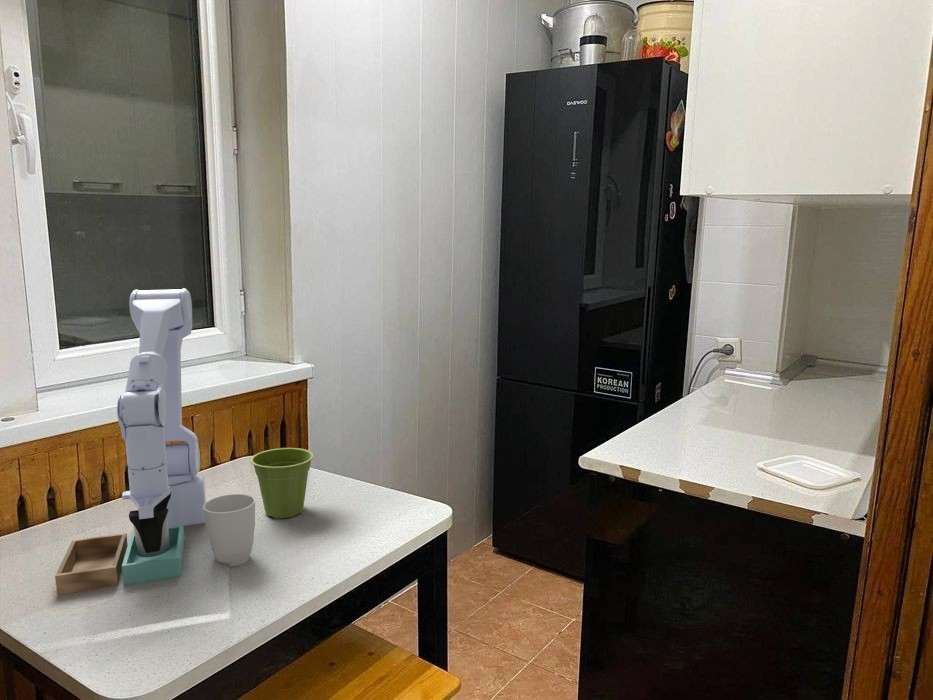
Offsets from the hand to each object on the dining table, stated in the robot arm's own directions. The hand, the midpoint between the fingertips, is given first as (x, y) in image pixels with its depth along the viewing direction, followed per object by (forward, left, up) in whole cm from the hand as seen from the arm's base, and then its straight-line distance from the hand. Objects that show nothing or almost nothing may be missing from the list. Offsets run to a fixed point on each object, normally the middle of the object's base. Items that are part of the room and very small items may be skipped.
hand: (154, 544), depth 115 cm
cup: (-12, +2, -4) cm, 13 cm away
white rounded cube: (0, 0, -1) cm, 1 cm away
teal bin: (0, 0, -4) cm, 4 cm away
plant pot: (-22, -16, -4) cm, 28 cm away
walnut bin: (+9, 0, -4) cm, 10 cm away
